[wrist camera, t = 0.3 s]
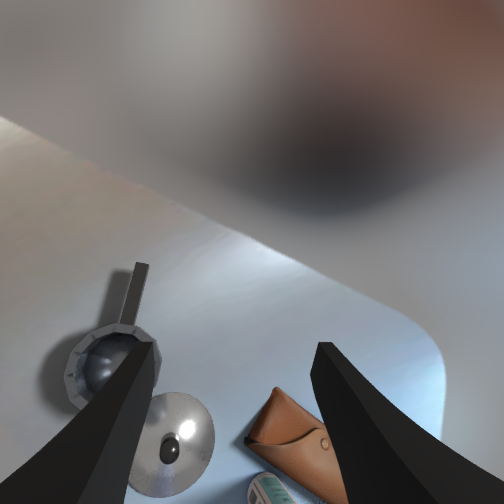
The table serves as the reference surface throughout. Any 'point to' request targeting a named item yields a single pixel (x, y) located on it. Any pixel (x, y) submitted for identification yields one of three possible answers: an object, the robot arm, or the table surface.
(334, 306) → the table surface
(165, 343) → the table surface
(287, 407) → the sunglasses case
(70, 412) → the table surface
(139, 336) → the saucepan
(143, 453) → the lid
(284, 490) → the white labeled canister
